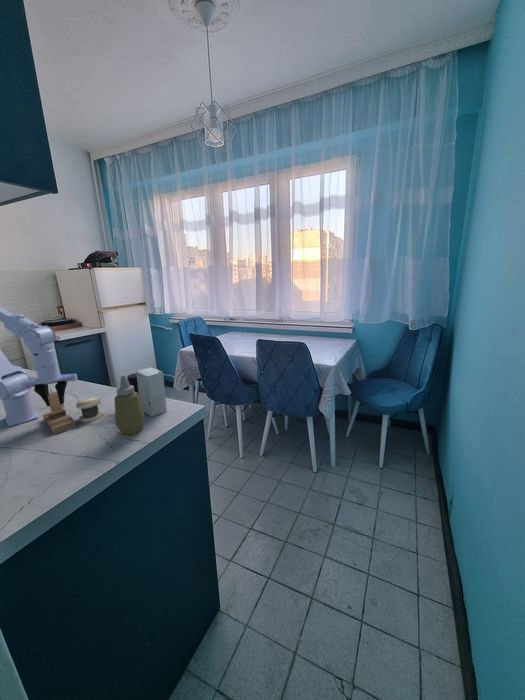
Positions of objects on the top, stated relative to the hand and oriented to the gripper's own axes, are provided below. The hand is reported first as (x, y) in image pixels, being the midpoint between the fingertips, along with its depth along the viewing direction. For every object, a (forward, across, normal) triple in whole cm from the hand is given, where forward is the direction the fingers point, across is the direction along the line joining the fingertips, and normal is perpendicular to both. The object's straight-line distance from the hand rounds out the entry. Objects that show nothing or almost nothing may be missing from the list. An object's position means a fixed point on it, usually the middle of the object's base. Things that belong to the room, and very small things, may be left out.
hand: (56, 404), depth 95 cm
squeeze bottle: (+6, -23, +18) cm, 30 cm away
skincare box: (+6, -30, +6) cm, 31 cm away
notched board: (+6, 0, +2) cm, 6 cm away
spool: (+6, -10, +2) cm, 11 cm away
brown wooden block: (+2, 0, -1) cm, 2 cm away
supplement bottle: (+6, -25, 0) cm, 25 cm away
